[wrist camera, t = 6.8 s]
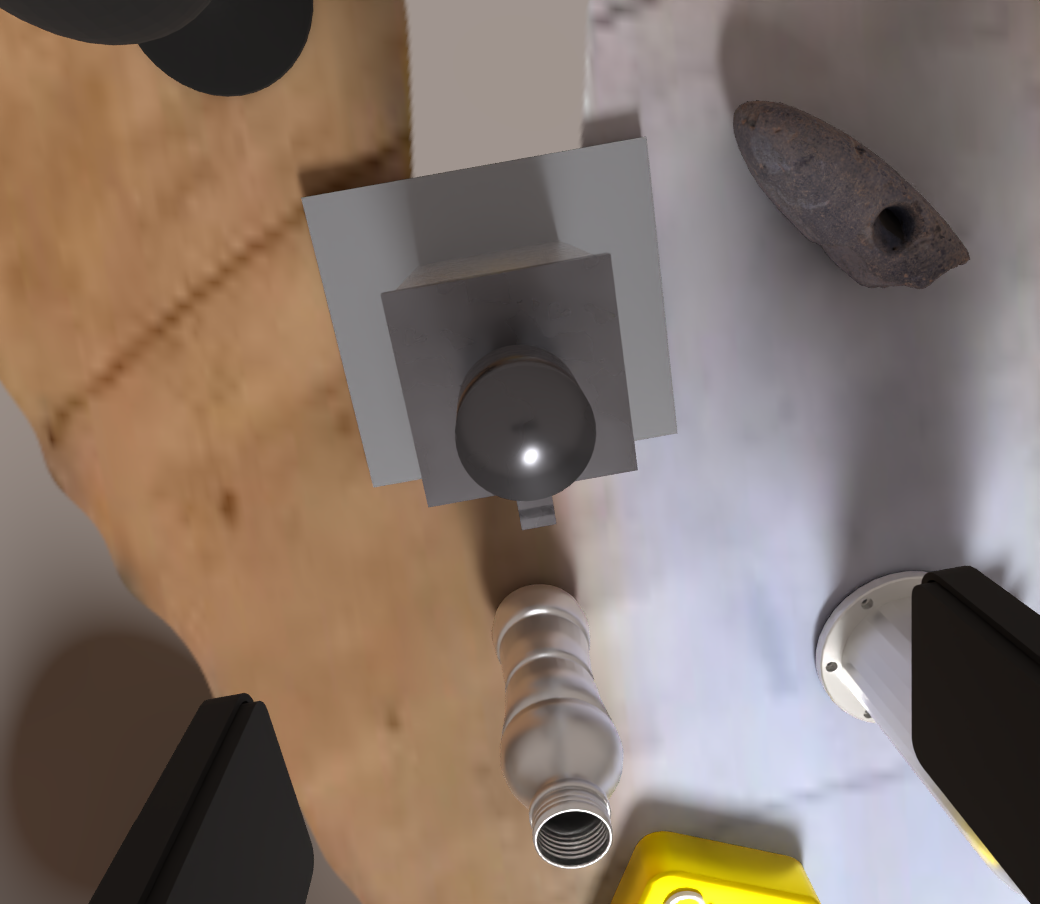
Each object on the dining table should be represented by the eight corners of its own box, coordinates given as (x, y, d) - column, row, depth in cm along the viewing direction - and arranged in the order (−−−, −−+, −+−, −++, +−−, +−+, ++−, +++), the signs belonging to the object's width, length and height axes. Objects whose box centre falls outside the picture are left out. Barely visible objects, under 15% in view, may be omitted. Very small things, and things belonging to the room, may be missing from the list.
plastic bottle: (505, 563, 52) (522, 769, 33) (596, 584, 53) (664, 797, 34) (480, 640, 54) (483, 879, 35) (569, 660, 55) (619, 903, 36)
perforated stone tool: (694, 147, 44) (732, 137, 37) (755, 71, 43) (806, 46, 36) (862, 307, 48) (924, 323, 41) (923, 241, 46) (997, 246, 40)
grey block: (561, 236, 44) (610, 253, 28) (588, 423, 48) (645, 532, 32) (415, 262, 44) (380, 294, 28) (453, 447, 48) (442, 569, 32)
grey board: (641, 138, 44) (646, 136, 42) (672, 428, 49) (677, 433, 48) (305, 198, 44) (301, 197, 42) (375, 480, 49) (373, 487, 48)
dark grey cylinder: (535, 286, 41) (585, 354, 22) (548, 364, 42) (604, 487, 24) (457, 300, 41) (442, 379, 22) (472, 377, 42) (469, 512, 24)
